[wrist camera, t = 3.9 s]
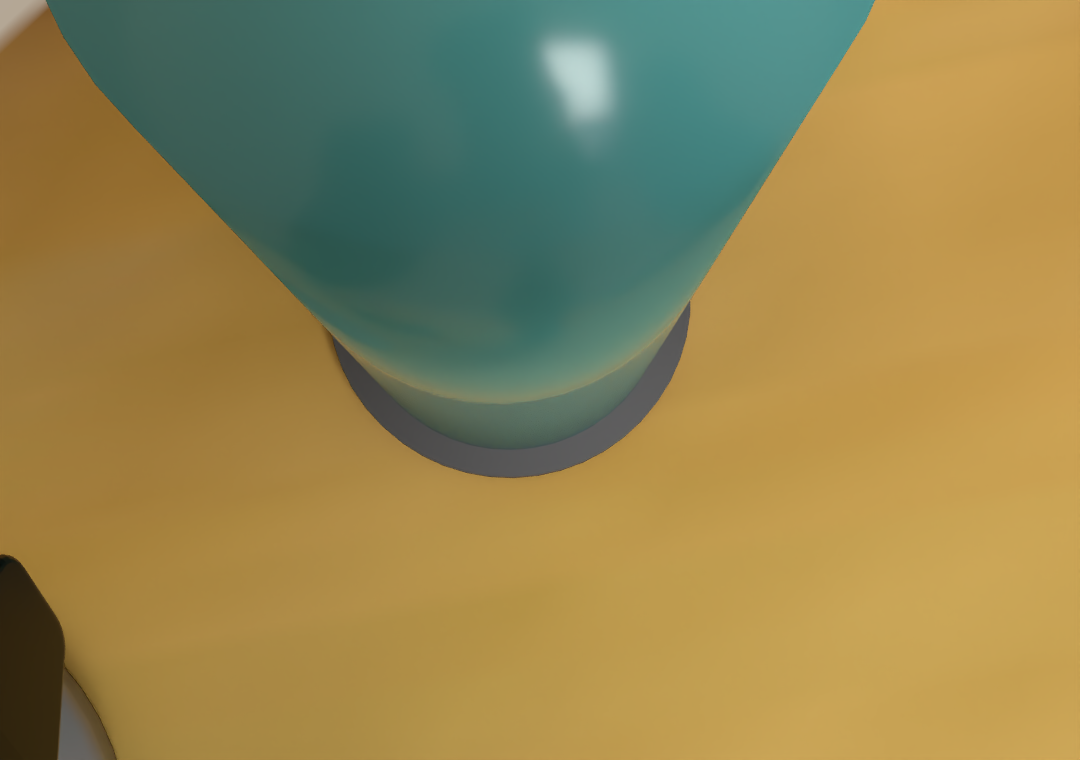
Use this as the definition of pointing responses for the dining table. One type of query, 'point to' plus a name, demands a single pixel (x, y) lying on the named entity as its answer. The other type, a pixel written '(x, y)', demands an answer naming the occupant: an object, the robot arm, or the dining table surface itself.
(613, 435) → the coaster
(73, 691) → the plate
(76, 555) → the dining table surface
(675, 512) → the dining table surface
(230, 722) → the dining table surface
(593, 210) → the teal rounded block
